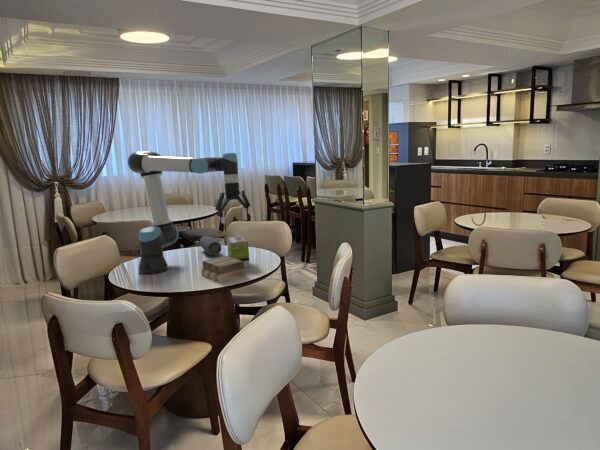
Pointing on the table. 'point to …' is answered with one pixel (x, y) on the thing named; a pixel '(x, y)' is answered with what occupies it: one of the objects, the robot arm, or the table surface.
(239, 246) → the tea box
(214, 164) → the robot arm
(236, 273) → the oak slab
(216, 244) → the bluetooth speaker
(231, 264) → the walnut slab
